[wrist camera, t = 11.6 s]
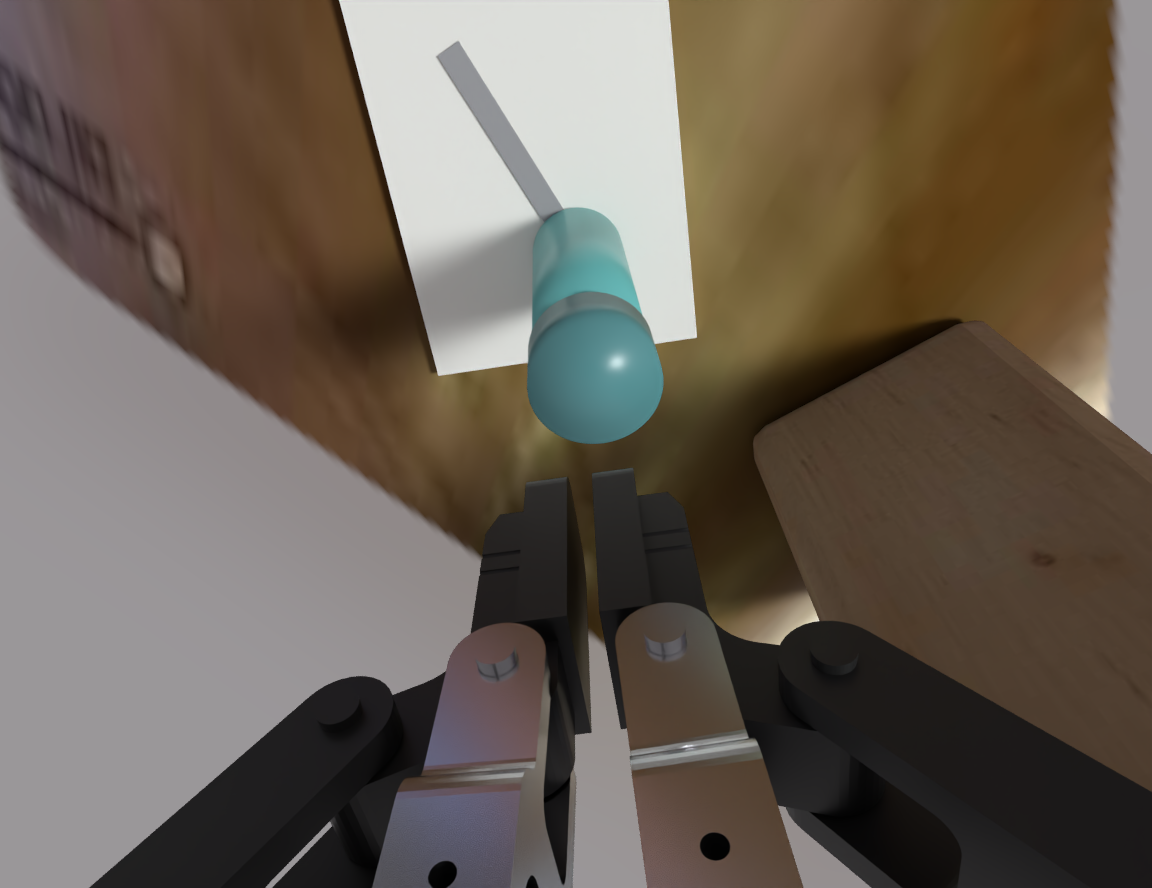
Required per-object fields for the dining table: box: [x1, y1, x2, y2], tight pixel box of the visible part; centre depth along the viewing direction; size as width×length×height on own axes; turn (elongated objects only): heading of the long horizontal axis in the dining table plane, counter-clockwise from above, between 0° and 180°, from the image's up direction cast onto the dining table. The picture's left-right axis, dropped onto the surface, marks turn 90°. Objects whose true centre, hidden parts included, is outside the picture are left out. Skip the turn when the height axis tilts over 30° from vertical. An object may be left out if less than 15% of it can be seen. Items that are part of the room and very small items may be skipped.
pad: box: [339, 0, 697, 376], centre depth 27 cm, size 15×10×1 cm, turn 9°
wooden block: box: [753, 321, 1152, 792], centre depth 25 cm, size 10×10×20 cm
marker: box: [527, 207, 663, 444], centre depth 24 cm, size 3×3×10 cm
